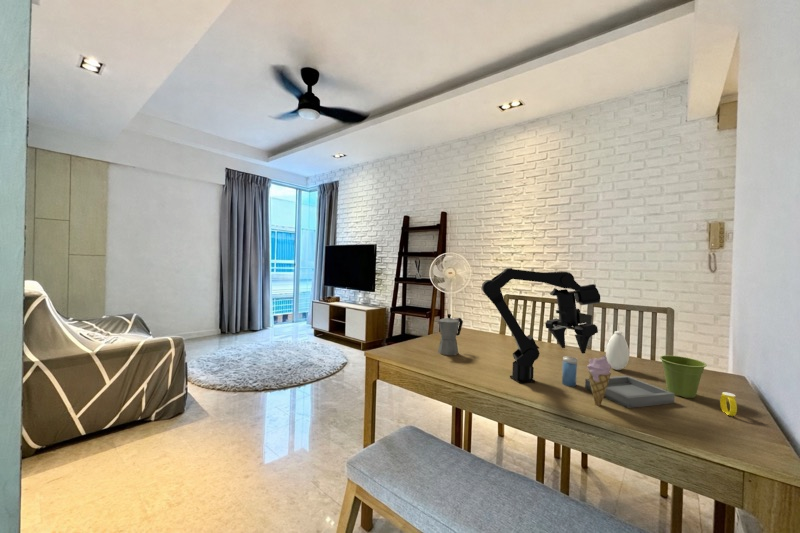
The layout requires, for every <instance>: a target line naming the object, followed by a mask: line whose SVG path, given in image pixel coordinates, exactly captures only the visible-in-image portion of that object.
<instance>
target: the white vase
mask: <svg viewBox="0 0 800 533" xmlns="http://www.w3.org/2000/svg"><path fill="white" fill-rule="evenodd" d="M605 349H606V350H605V357H606V358H607V361H608V364H610V365H611V369H614V370H616V371H620V370H623V368H626V367H627V365H628V363H629V361H630V360H629V359H630V349H629V344H628V342H627V340H626V338H625V336H624V335H623V332H622V331H620V325H617V330H615V331H614V333H613V334H612V335H611V336H610V339H609V340H608V342H607V345H606V348H605Z"/></svg>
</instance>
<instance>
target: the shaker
mask: <svg viewBox="0 0 800 533" xmlns="http://www.w3.org/2000/svg"><path fill="white" fill-rule="evenodd" d="M577 369H578V358H576V357H572V356H567V355H566V356H562V376H561V379H562V380H561V384H562V385H564V386H566V387H576V386H577V373H578V372H577V371H578V370H577Z"/></svg>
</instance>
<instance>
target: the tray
mask: <svg viewBox="0 0 800 533" xmlns="http://www.w3.org/2000/svg"><path fill="white" fill-rule="evenodd" d="M584 380H585V381H584V382H585V384H584V388H585V389H587V390H588V391H591V392H592V390H591V385H590V381H589V378H585V379H584ZM675 396H676V395H675V393H672V392H669V391H667V389H664V388H661V387H659V386H656V385H653V384H651V383H647V382H645V381H642V380H639V379H637V378H635V377H633V376H632V377H631V376H629V375H620V376H610V379H609V383H608V386H607V389H606V392H605V395H604V397H603V398H604V399H605V398H606V399H607V400H610V401H612V402H614V403H616V404H618V405H620V406H622V407H624V408H626V409H634V408H643V407H651V406H660V405H661V406H662V405H668V404H675Z"/></svg>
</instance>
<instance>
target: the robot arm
mask: <svg viewBox="0 0 800 533" xmlns="http://www.w3.org/2000/svg"><path fill="white" fill-rule="evenodd" d="M511 280H517V281H524V282H525V281H527V282H534V283H544V284H547V285H551V286H555V287H558V288H563V289H557V288H555V287H554V288H553V290H552V291H551V292H550V293H549V295H550V296H553V297H555V296H556V302H557V309H556V310H555V313H556V314H558V315H559V317H558V318H553V319H549V320H546V321H545V329H548V331H549V332H550V333H551V334H552V336H553V337H554V338H555V339H556V341H557V343H558V344H559V346H560V347H561V348H562V349H565V348H566V337H565V332H566V330H567V329H568V330H572V331H574V332H575V334H574V337H575V339H576V342H577V345H578V348H579V351H580V353H581V354H582V355H584V354H586V352H587V347H588V343H589V341H590V338H591V337H592V336H595V334H597V333H599V330H598V329H599V328H598V325H596V324H595V323H592V320H593V315H591V314H587V313H584V312H581V309H580V308H577V304H576V303H578V304H579V305H580V306H587V305H594V304H595V305H596V304H597V305H598V304H600V303H601V294H600V292H599V289H598V288H597V285H596V284H595V283H591V284H587V285H580V284H579V283H578V282H577V281H576V280H575V277H574V275H573V274H572V273H571V272H568V271H563V270H562V271H559V270H558V271H546V272H543V271H532V270H524V269H523V270H522V269H517V268H516V269H515V268H510V267H507V268H505V269H503V270H502V271H501V272H499V274H497V275H496V276H495V277H493V278H491V279H486V280H485V281H484V282H483V283H482V284H481V291H482V292H483V293H484V295H485V296H486V297H487V298H488V299H489V300H490V302H491V303H492V304H493V305H494V306H495V308H496V310H497V312H498V313H499V315H500V316H501V318H502V319H503V321H504V322H505V324H506V326H507V328H508V330H510V332H511V334H512V336H513V338H514V340H515V343H516V347H517V349H515V351H514V352H512V356H513V360H514V361H512V373H511V374H512V375H509V378H511V379H513V380H514V381H515V382H517V383H519V384H525V383H536V380H535V379H534V372H535V371H534V369H535V368H534V363H535V362H536V360H538V358H539V357H540V350H539V349H540V347H539V346H538V345H537V344H536V341H535V339H534V337H532V335H531V334H528V335H526V334H525V332H524V331H523V329H522V327H521V325H520V324H519V323H518V320H517V319H516V317H515V316H514V314H513V313H512V311H511V310H510V308H509V306H508V305H507V303H506V301H505V298H504V295H503V293H502V290H501V289H502V288H503V287H504V286H506V285H507V284H508V283H509V282H510V281H511ZM568 289H570V291H569V290H568ZM571 290H572V291H571Z"/></svg>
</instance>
